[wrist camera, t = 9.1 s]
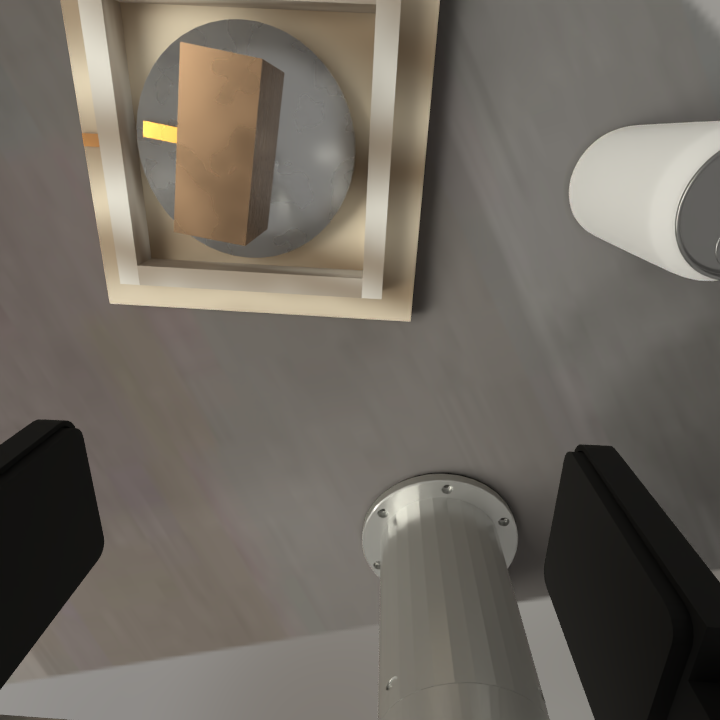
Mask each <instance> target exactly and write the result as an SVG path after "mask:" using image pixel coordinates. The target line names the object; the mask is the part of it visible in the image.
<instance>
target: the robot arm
mask: <svg viewBox="0 0 720 720" xmlns="http://www.w3.org/2000/svg"><path fill="white" fill-rule="evenodd" d="M517 546H518V532H517V526H516V523H515V520H514V517H513V514H512V512H511V510H510V509H509V507H508V505H507V503H506V502H505V501H504V500H503V499H502V498H501V497H500V496H499V495H498V493H496V492H495V491H493V490H492V489H491V488H489V487H488V486H486V485H484V484H482V483H480V482H478V481H476V480H474V479H470V478H467V477H463V476H460V475H452V474H427V475H422V476H417V477H413V478H410V479H408V480H405V481H402V482H400V483H398V484H396V485H394V486H393V487H391V488H389V489H388V490H386V491H385V492H384V493H383V494H382V495H381V496H380V497H378V498H377V499H376V501H375V502H374V503H373V505H372V506H371V507H370V509H369V511H368V513H367V515H366V517H365V520H364V525H363V530H362V547H363V552H364V556H365V558H366V560H367V562H368V565H369V566H370V568H371V569H372V570H373V572H374V573H375V574H376V575H377V576H378V577H379V578H380V621H379V683H378V720H550V719H549V716H548V712H547V708H546V705H545V700H544V697H543V693H542V690H541V686H540V683H539V679H538V676H537V672H536V669H535V665H534V661H533V658H532V654H531V651H530V648H529V644H528V640H527V637H526V633H525V630H524V626H523V623H522V619H521V616H520V612H519V608H518V605H517V601H516V597H515V594H514V590H513V587H512V583H511V579H510V576H509V572H508V568H509V566H510V564H511V563H512V561H513V559H514V557H515V554H516V551H517ZM103 547H104V536H103V531H102V526H101V521H100V516H99V511H98V507H97V502H96V497H95V492H94V487H93V482H92V477H91V472H90V467H89V463H88V458H87V453H86V448H85V443H84V438H83V435H82V432H81V431H80V430H79V429H76V428H75V426H74V425H73V424H72V423H71V422H69V421H62V420H36V421H34V422H32V423H31V424H29V425H28V426H26V427H25V428H23V429H22V430H21V431H19V432H18V433H16V434H15V435H14V436H12V437H11V438H9V439H8V440H6V441H5V442H4V443H2V444H1V445H0V689H1V688H2V687H3V685H4V684H5V683H6V681H7V680H8V679H9V677H10V676H11V675H12V673H13V672H14V671H15V670H16V668H17V667H18V666H19V664H20V663H21V662H22V660H23V659H24V658H25V656H26V655H27V654H28V652H29V651H30V650H31V648H32V647H33V646H34V644H35V643H36V642H37V640H38V639H39V638H40V636H41V635H42V634H43V632H44V631H45V630H46V628H47V627H48V626H49V624H50V623H51V622H52V620H53V619H54V618H55V616H56V615H57V614H58V612H59V611H60V610H61V608H62V607H63V606H64V604H65V603H66V602H67V600H68V599H69V598H70V596H71V595H72V594H73V592H74V591H75V590H76V589H77V587H78V586H79V585H80V583H81V582H82V581H83V579H84V578H85V577H86V575H87V574H88V573H89V571H90V570H91V569H92V567H93V566H94V565H95V563H96V562H97V561H98V559H99V558H100V556H101V554H102V551H103ZM544 577H545V583H546V586H547V589H548V592H549V595H550V597H551V600H552V603H553V606H554V608H555V611H556V614H557V617H558V619H559V622H560V625H561V628H562V630H563V633H564V636H565V639H566V641H567V644H568V647H569V650H570V652H571V655H572V658H573V661H574V663H575V666H576V669H577V672H578V674H579V677H580V680H581V683H582V685H583V688H584V691H585V694H586V696H587V699H588V702H589V705H590V707H591V710H592V713H593V716H594V718H595V720H720V582H719V581H718V580H717V578H716V577H715V576H714V574H713V573H712V572H711V571H710V569H709V568H708V567H707V566H706V564H705V563H704V562H703V560H702V559H701V558H700V557H699V555H698V554H697V553H696V552H695V550H694V549H693V548H692V546H691V545H690V544H689V543H688V541H687V540H686V539H685V537H684V536H683V535H682V534H681V532H680V531H679V530H678V529H677V527H676V526H675V525H674V523H673V522H672V521H671V520H670V518H669V517H668V516H667V515H666V513H665V512H664V511H663V509H662V508H661V507H660V506H659V504H658V503H657V502H656V501H655V499H654V498H653V497H652V495H651V494H650V493H649V492H648V490H647V489H646V488H645V486H644V485H643V484H642V483H641V481H640V480H639V479H638V478H637V476H636V475H635V474H634V472H633V471H632V470H631V469H630V467H629V466H628V465H627V464H626V462H625V461H624V460H623V458H622V457H621V456H620V455H619V453H618V452H617V451H616V450H615V449H614V448H613V447H612V446H600V445H578V446H577V447H576V449H575V452H568V453H567V454H566V455H565V459H564V463H563V469H562V474H561V479H560V485H559V490H558V495H557V501H556V506H555V511H554V516H553V522H552V527H551V532H550V538H549V543H548V548H547V554H546V559H545V565H544ZM0 720H65V719H52V718H38V717H24V716H10V715H0Z"/></svg>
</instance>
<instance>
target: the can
mask: <svg viewBox="0 0 720 720" xmlns="http://www.w3.org/2000/svg"><path fill="white" fill-rule="evenodd" d="M569 201H570V206H571V210H572V212H573V215H574V217H575V218H576V220H577V221H578V223H579V224H580V225H581V226H582V227H583V228H584V229H585V230H586V231H588V232H589V233H591V234H593V235H594V236H596V237H598V238H600V239H602V240H604V241H606V242H608V243H610V244H612V245H614V246H617V247H619V248H621V249H623V250H625V251H627V252H629V253H631V254H633V255H635V256H637V257H640V258H642V259H644V260H646V261H648V262H650V263H652V264H655V265H657V266H659V267H661V268H663V269H665V270H668V271H670V272H672V273H675V274H677V275H679V276H682V277H686V278H689V279H694V280H700V281H716V280H720V121H707V122H686V123H666V124H648V125H634V126H627V127H623V128H619V129H616V130H613V131H611V132H609V133H607V134H605V135H604V136H602V137H600V138H599V139H598V140H596V141H595V142H594V143H593V144H592V145H591V146H590V147H589V148H588V149H587V150H586V151H585V152H584V154H583V155H582V156H581V158H580V159H579V161H578V163H577V164H576V166H575V169H574V171H573V174H572V177H571V181H570V186H569Z"/></svg>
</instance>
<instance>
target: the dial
mask: <svg viewBox="0 0 720 720" xmlns="http://www.w3.org/2000/svg"><path fill="white" fill-rule="evenodd" d="M136 128H137V143H138V149H139V155H140V159H141V163H142V166H143V170H144V173H145V175H146V178H147V180H148V182H149V185H150V187H151V189H152V191H153V192H154V194H155V196H156V198H157V200H158V201H159V203H160V204H161V205H162V207H163V208H164V210H165V211H166V212H167V213H168V215H169V216H170V217H171V218H172V219H173V220H174V232H176V233H181V234H186V235H191V236H192V237H194V238H195V239H196V240H198V241H199V242H201V243H203V244H205V245H207V246H209V247H210V248H213V249H215V250H218V251H220V252H223V253H227V254H230V255H234V256H240V257H248V258H263V257H271V256H276V255H280V254H284V253H287V252H290V251H292V250H294V249H297V248H299V247H301V246H302V245H304V244H306V243H307V242H309V241H310V240H312V239H313V238H314V237H315V236H317V235H318V234H319V233H320V232H321V231H322V230H323V229H324V228H325V227H326V226H327V225H328V224H329V223H330V221H331V220H332V218H333V217H334V216H335V214H336V213H337V211H338V210H339V208H340V207H341V205H342V203H343V201H344V199H345V197H346V195H347V192H348V190H349V187H350V184H351V181H352V177H353V172H354V167H355V158H356V139H355V131H354V124H353V120H352V116H351V113H350V109H349V106H348V104H347V101H346V99H345V96H344V94H343V92H342V90H341V88H340V86H339V85H338V83H337V81H336V79H335V78H334V77H333V75H332V74H331V72H330V71H329V70H328V68H327V67H326V66H325V65H324V64H323V62H322V61H321V60H320V59H319V58H318V57H317V56H316V55H315V54H314V53H313V52H312V51H311V50H310V49H309V48H308V47H306V46H305V45H304V44H303V43H302V42H300V41H299V40H297V39H296V38H294V37H293V36H291V35H290V34H288V33H286V32H284V31H282V30H280V29H278V28H276V27H273V26H271V25H268V24H264V23H261V22H257V21H251V20H243V19H226V20H220V21H215V22H210V23H207V24H204V25H201V26H199V27H196V28H194V29H192V30H190V31H189V32H187V33H185V34H183V35H182V36H181V37H179V38H178V39H177V40H175V41H174V42H173V43H172V44H170V46H169V47H168V48H167V49H166V50H165V51H164V52H163V53H162V54H161V55H160V57H159V58H158V60H157V61H156V63H155V64H154V65H153V67H152V69H151V71H150V73H149V75H148V77H147V79H146V81H145V84H144V87H143V90H142V93H141V96H140V101H139V106H138V111H137V126H136Z"/></svg>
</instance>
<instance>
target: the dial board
mask: <svg viewBox="0 0 720 720" xmlns="http://www.w3.org/2000/svg"><path fill="white" fill-rule="evenodd" d="M439 5H440V0H61V6H62V12H63V18H64V24H65V30H66V37H67V43H68V49H69V55H70V61H71V67H72V74H73V80H74V86H75V92H76V98H77V104H78V111H79V117H80V123H81V129H82V137H83V143H84V148H85V154H86V160H87V166H88V172H89V178H90V185H91V191H92V197H93V203H94V209H95V215H96V221H97V228H98V234H99V240H100V246H101V252H102V258H103V265H104V271H105V277H106V283H107V289H108V295H109V302H110V303H111V304H128V305H144V306H161V307H178V308H194V309H211V310H227V311H244V312H261V313H277V314H294V315H310V316H327V317H344V318H360V319H377V320H394V321H411V310H412V299H413V288H414V278H415V267H416V256H417V245H418V234H419V223H420V212H421V201H422V190H423V179H424V169H425V158H426V147H427V136H428V125H429V114H430V103H431V92H432V81H433V71H434V60H435V49H436V38H437V27H438V16H439ZM226 19H243V20H251V21H257V22H261V23H264V24H268V25H271V26H273V27H276V28H278V29H280V30H282V31H284V32H286V33H288V34H290V35H291V36H293V37H294V38H296V39H297V40H299V41H300V42H302V43H303V44H304V45H305V46H306V47H308V48H309V49H310V50H311V51H312V52H313V53H314V54H315V55H316V56H317V57H318V58H319V59H320V60H321V61H322V62H323V64H324V65H325V66H326V67H327V68H328V70H329V71H330V72H331V74H332V75H333V77H334V78H335V79H336V81H337V83H338V85H339V86H340V88H341V90H342V92H343V94H344V96H345V99H346V101H347V104H348V106H349V109H350V113H351V116H352V120H353V124H354V131H355V139H356V158H355V167H354V172H353V177H352V181H351V184H350V187H349V190H348V192H347V195H346V197H345V199H344V201H343V203H342V205H341V207H340V208H339V210H338V211H337V213H336V214H335V216H334V217H333V218H332V220H331V221H330V223H329V224H328V225H327V226H326V227H325V228H324V229H323V230H322V231H321V232H320V233H319V234H318V235H317V236H315V237H314V238H313V239H312V240H310V241H309V242H307V243H306V244H304V245H302V246H301V247H299V248H297V249H294V250H292V251H290V252H287V253H284V254H280V255H276V256H271V257H263V258H248V257H240V256H234V255H230V254H227V253H223V252H220V251H218V250H215V249H213V248H210V247H209V246H207V245H205V244H203V243H201V242H199V241H198V240H196V239H195V238H194V237H192V236H191V235H186V234H181V233H176V232H174V220H173V219H172V218H171V217H170V216H169V215H168V213H167V212H166V211H165V210H164V208H163V207H162V205H161V204H160V203H159V201H158V200H157V198H156V196H155V194H154V192H153V191H152V189H151V187H150V185H149V182H148V180H147V178H146V175H145V173H144V170H143V166H142V163H141V159H140V155H139V149H138V143H137V128H136V126H137V111H138V106H139V101H140V96H141V93H142V90H143V87H144V84H145V81H146V79H147V77H148V75H149V73H150V71H151V69H152V67H153V65H154V64H155V63H156V61H157V60H158V58H159V57H160V55H161V54H162V53H163V52H164V51H165V50H166V49H167V48H168V47H169V46H170V44H172V43H173V42H174V41H175V40H177V39H178V38H179V37H181V36H182V35H183V34H185V33H187V32H189V31H190V30H192V29H194V28H196V27H199V26H201V25H204V24H207V23H210V22H215V21H220V20H226Z"/></svg>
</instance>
